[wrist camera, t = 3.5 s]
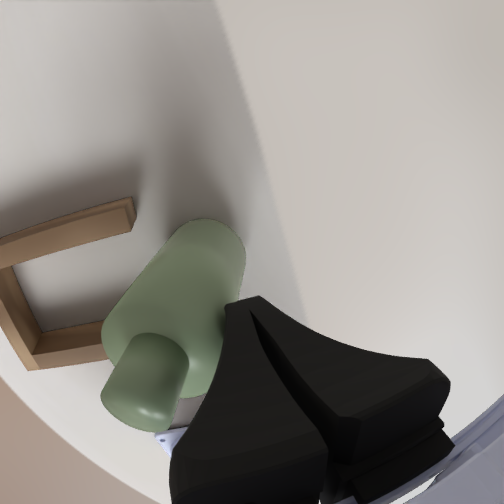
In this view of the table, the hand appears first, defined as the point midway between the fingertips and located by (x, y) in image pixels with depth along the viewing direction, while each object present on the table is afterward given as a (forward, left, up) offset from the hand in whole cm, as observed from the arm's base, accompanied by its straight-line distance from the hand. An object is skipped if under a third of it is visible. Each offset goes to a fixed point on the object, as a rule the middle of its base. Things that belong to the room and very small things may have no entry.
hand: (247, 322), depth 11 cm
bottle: (0, +1, -7) cm, 7 cm away
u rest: (0, +9, -7) cm, 11 cm away
